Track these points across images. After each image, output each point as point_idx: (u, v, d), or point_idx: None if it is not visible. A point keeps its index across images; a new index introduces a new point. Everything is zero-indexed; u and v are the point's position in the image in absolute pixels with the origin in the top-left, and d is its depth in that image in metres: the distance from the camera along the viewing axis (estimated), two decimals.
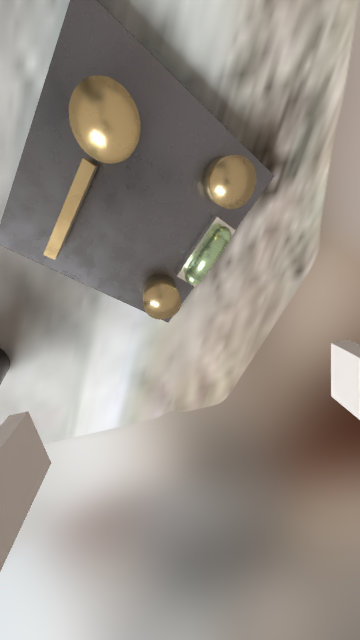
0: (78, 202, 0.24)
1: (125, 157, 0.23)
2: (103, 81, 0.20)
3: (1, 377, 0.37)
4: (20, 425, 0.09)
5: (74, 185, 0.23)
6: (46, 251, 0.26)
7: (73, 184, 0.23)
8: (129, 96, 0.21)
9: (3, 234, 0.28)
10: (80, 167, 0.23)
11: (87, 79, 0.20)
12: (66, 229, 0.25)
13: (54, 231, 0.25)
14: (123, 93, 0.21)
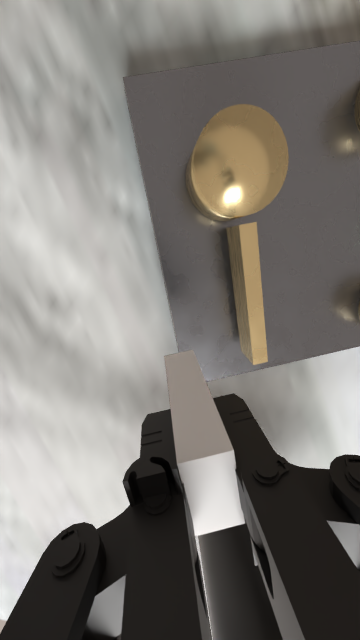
0: (259, 277, 0.17)
1: (283, 179, 0.16)
2: (217, 121, 0.14)
3: None
4: (180, 360, 0.12)
5: (246, 262, 0.17)
6: (254, 359, 0.19)
7: (244, 262, 0.17)
8: (251, 107, 0.14)
9: None
10: (242, 237, 0.16)
11: (200, 137, 0.14)
12: (262, 318, 0.18)
13: (251, 330, 0.18)
14: (243, 111, 0.14)
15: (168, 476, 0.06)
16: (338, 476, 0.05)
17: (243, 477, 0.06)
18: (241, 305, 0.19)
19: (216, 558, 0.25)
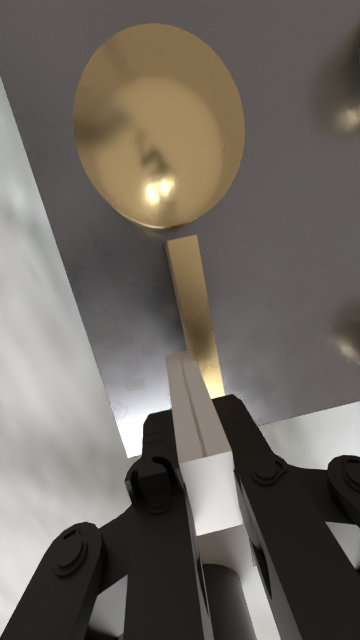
0: (209, 322, 0.11)
1: (237, 162, 0.09)
2: (107, 58, 0.08)
3: (249, 620, 0.22)
4: None
5: (185, 300, 0.10)
6: None
7: (182, 300, 0.10)
8: (169, 30, 0.08)
9: (130, 439, 0.17)
10: (174, 261, 0.10)
11: (80, 88, 0.08)
12: (219, 381, 0.12)
13: None
14: (155, 38, 0.08)
15: (169, 475, 0.06)
16: (336, 477, 0.05)
17: (241, 478, 0.06)
18: None
19: None
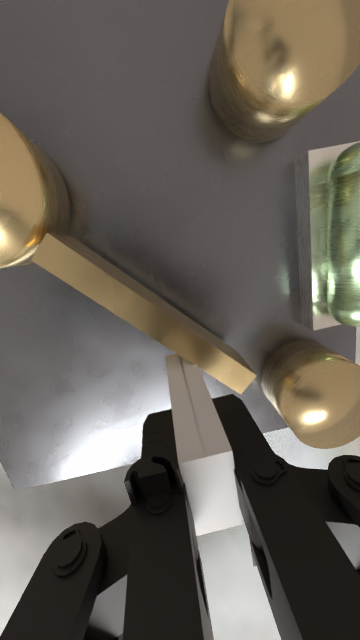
0: (132, 293, 0.10)
1: (14, 138, 0.08)
2: None
3: None
4: None
5: (94, 294, 0.10)
6: (235, 387, 0.11)
7: (92, 295, 0.10)
8: None
9: (16, 473, 0.16)
10: (52, 270, 0.09)
11: None
12: (192, 335, 0.11)
13: (194, 361, 0.11)
14: None
15: (169, 475, 0.06)
16: (336, 477, 0.05)
17: (242, 477, 0.06)
18: None
19: None
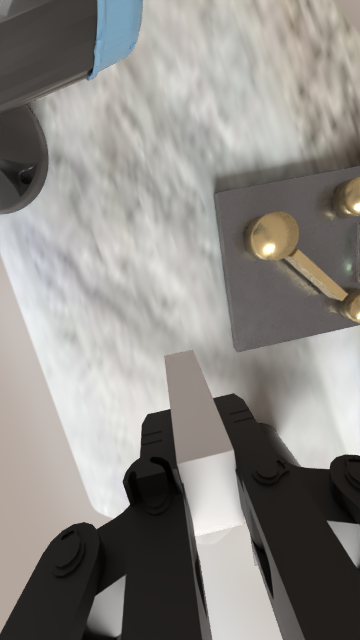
0: (316, 266, 0.34)
1: (297, 226, 0.32)
2: (257, 233, 0.31)
3: None
4: (180, 360, 0.12)
5: (306, 266, 0.33)
6: (340, 298, 0.35)
7: (305, 267, 0.33)
8: (266, 217, 0.31)
9: (240, 343, 0.40)
10: (297, 259, 0.33)
11: (256, 243, 0.32)
12: (330, 279, 0.34)
13: (329, 288, 0.35)
14: (264, 221, 0.31)
15: (168, 476, 0.06)
16: (338, 476, 0.05)
17: (243, 477, 0.06)
18: (315, 281, 0.35)
19: None
